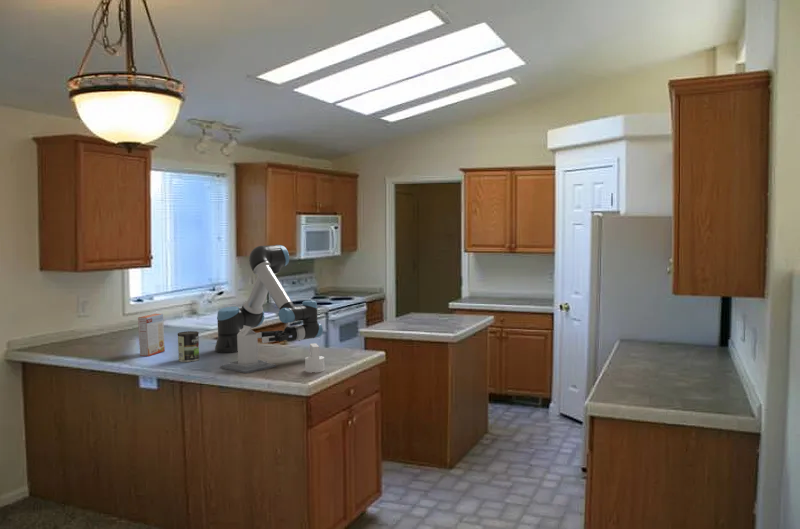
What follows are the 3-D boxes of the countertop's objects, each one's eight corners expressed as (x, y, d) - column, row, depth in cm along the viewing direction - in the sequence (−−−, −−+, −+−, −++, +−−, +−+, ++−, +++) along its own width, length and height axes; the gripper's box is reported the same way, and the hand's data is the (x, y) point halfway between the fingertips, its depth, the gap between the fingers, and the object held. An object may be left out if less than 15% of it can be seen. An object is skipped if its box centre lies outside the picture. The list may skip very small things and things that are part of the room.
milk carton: (251, 362, 326) (249, 324, 325) (258, 365, 321) (257, 326, 319) (237, 365, 321) (236, 326, 320) (245, 367, 316) (244, 327, 315)
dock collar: (229, 365, 320) (229, 362, 320) (251, 361, 329) (250, 358, 329) (245, 369, 312) (245, 365, 312) (266, 364, 321) (266, 361, 321)
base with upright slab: (326, 371, 309) (325, 346, 308) (306, 373, 306) (306, 347, 306) (322, 367, 318) (322, 342, 317) (304, 369, 315) (303, 344, 314)
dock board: (220, 367, 320) (220, 365, 320) (250, 361, 334) (250, 359, 334) (245, 373, 307) (245, 371, 307) (276, 366, 321) (276, 364, 321)
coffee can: (203, 358, 344) (202, 331, 343) (193, 362, 334) (192, 334, 333) (185, 357, 346) (184, 330, 345) (174, 361, 336) (173, 334, 335)
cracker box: (155, 351, 365) (154, 313, 364) (165, 351, 364) (163, 313, 362) (138, 356, 352) (137, 316, 351) (148, 356, 350) (147, 317, 349)
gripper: (307, 343, 326) (268, 349, 313) (282, 337, 346) (244, 342, 332) (306, 328, 326) (267, 333, 312) (281, 323, 345) (244, 327, 332)
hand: (255, 338), depth 322 cm, fingers open, 13 cm apart
